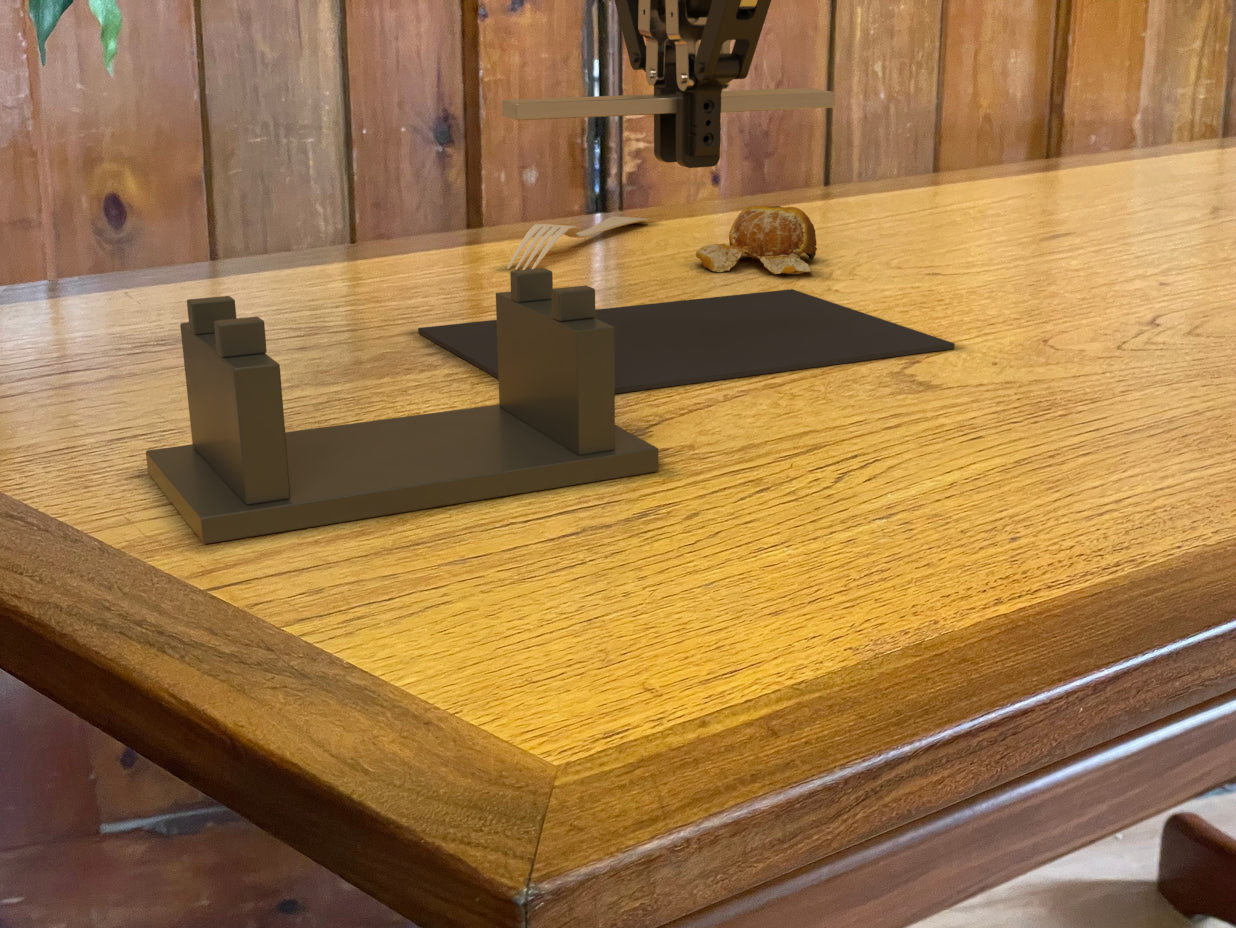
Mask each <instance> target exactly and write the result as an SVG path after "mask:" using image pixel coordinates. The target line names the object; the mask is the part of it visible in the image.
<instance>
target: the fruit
mask: <svg viewBox="0 0 1236 928" xmlns="http://www.w3.org/2000/svg"><path fill="white" fill-rule="evenodd" d="M728 240H729V243H712V244H711V243H710V244H706V245H703V246H701V247H700V248H699V249H698V250H697V251H696V252H695V256H696V258H697V259H699V261H701V264H702V266H703V267H704V268H707V269H708V270H709V271H712V272H717V273H723V272H726V271H728V272H730V269H732V268H733V267H734V266H735V265H736V264H737V263H739V259H740V258H741V255H746V256H747V258H750V257H751V258H752V259H758V260H760V263H762V264H763V267H764V268H766V269H767V270H768V271H769V272H770V273H772V274H773V275H777V274H778V275H779V274H781V273H783V274H787V275H801V274H803V273H808V272H811V273H813V272H814V269H813V268H812V267H810V265H809V264H808V263H807V262H805V260H802V259H801V256H802V255H803V254H805V255H806V256H807V257H808V260H813V259H814V258H815V256H816V254H817V253H816V252H817V250H818V247H817V237H816V229H815V226H814V223H813V222H812V221H811V219H810V217H809V216H808V215H807V214H806V212H805V211H803V210H802V209H801V208H798V207H795V206H780V205H753V206H748V207H746V208H744V209H742V211H740V213H738V215H737V217H736V218H735V220H734V221H733V223H732V226H731V227H730V230H729V234H728Z"/></svg>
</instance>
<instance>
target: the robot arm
mask: <svg viewBox="0 0 1236 928" xmlns="http://www.w3.org/2000/svg"><path fill="white" fill-rule="evenodd" d="M771 2H772V0H614V4H615V8H616V11H617V12H616V13H617V16H618V21H619V24H620V28H621V32H622V36H623V40H624V44H625V48H626V52H627V55H628V59H629V64H630V66H631V69H632V70H634V71H643V72H644V73H645V79H646V82H647V84H648V85H649V86H651V87H653V94H676V98H677V109H676V114H654V115H653V155H654V157H655V158H656V160H657V161H660V162H664V163H668V164H669V163H677V164H678V165H679V166H681V167H684V168H688V169H697V168H711V167H715V166H717V165H718V163H719V162H720V160H721V123H722V122H721V121H722V118H721V117H722V114H721V93H722V91H723V90H727V89H728V88H729V86H730V85H731V84H730V83H731V82H732V81H733V80H745V79H746V78H747V77H748V75H749V72H750V69H751V66H752V62H753V59H754V56H755V53H756V50H757V48H758V47H757V46H758V43H759V40H760V37H761V34H762V31H763V27H764V24H765V22H766V19H767V16H768V12H769V10H770V6H771ZM645 41H646V42H645ZM732 41H734V43H733V47H732V50H731V43H732Z"/></svg>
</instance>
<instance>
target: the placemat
mask: <svg viewBox="0 0 1236 928" xmlns="http://www.w3.org/2000/svg"><path fill="white" fill-rule="evenodd" d="M595 319H597V320H599V321H602V322H604V323H606V324H608V325H611V326H613V327H614V375H615V395H616V394H622V393H623V394H624V393H630V392H631V393H632V392H638V391H644V390H645V391H647V390H653V389H661V388H669V387H675V386H683V385H691V384H699V383H706V382H713V381H714V382H715V381H721V380H722V381H723V380H729V379H736V378H743V377H744V378H745V377H751V376H752V377H753V376H758V375H767V374H774V373H781V372H789V371H797V370H805V369H812V368H820V367H825V366H826V367H828V366H835V365H840V364H841V365H842V364H849V363H858V362H864V361H872V360H873V361H874V360H880V359H887V358H894V357H902V356H910V355H916V354H917V355H918V354H925V353H932V352H941V351H947V350H955V347H956V346H955V342H951V341H949V340H945V339H942V338H939V337H937V336H933V335H930V334H927V333H925V332H922V331H918V330H916V329H913V328H911V327H910V328H909V327H908V326H904V325H901V324H898V323H894V322H892V321H888V320H885V319H882V318H879V317H877V316H874V315H871V314H868V313H865V312H861V311H859V310H855V309H853V308H849V307H847V306H844V305H840V304H837V303H835V302H832V301H829V300H826V299H823V298H820V297H817V296H814V295H812V294H811V295H810V294H807V293H805V292H802V291H800V290H799V291H798V290H795V289H793V288H789V289H781V290H780V289H779V290H770V291H761V292H754V293H753V292H752V293H751V292H750V293H742V294H741V293H740V294H734V295H733V294H732V295H722V296H713V297H704V298H703V297H702V298H693V299H683V300H674V301H665V302H655V303H646V304H645V303H644V304H637V305H636V304H634V305H626V306H617V307H607V308H597V309H596V308H595ZM417 333H418V334H419V335H421V336H423V337H425V338H426V339H428V340H430V341H431V342H433V343H435V344H437V345H438V346H440V347H442V348H444V349H445V350H447V351H449V352H450V353H452V354H454V355H455V356H457V357H459V358H461V359H463V360H464V361H466V362H468V363H469V364H471V365H473V366H474V367H476V368H478V369H480V370H481V371H484V373H487V374H489V375H491V376H492V377H493V378H496V379H497V380H499V377H498V347H497V319H490V320H482V321H480V320H479V321H473V322H463V323H461V322H460V323H452V324H444V325H443V324H442V325H434V326H433V325H432V326H423V327H418V328H417Z"/></svg>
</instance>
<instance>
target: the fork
mask: <svg viewBox="0 0 1236 928" xmlns="http://www.w3.org/2000/svg"><path fill="white" fill-rule="evenodd" d="M649 221H650V219H649V218H646V217H645V218H644V217H632V216H616V215H612V216H610V217H607V218H606V219H604V220H602V221H600V222H599V223H597V224H595V225H593V226H591V227H589V228H587V229H585V230H583V231H582V228H581V227H579V226H576V225H564V224H550V223H535V224H534V225H532V226H531V227H530V229H529V230H528V231H527V232H526V234H525V235H524V237H523V238H522V240H521V241H520V243H519V245H518V247H517V248H516V250H515V252H514V254H513V256H512V258H511V260H510V262H509V263H508V266H507V267H506V269H507V270H510V269H511V267H512V265H513V264H514V262H515V261H516V259H517V258H518V257H519V255H520V254H521V252H522V251H523V249H524V248H525V247H526V246H527V245H528V243H529V242H530V243H529V245H528V246H527V247H526V249H525V251H524V252H523V254H522V256H521V257H520V260H519V261H518V263H517V265H516V266H515V269H514V270H515V271H517V270H518V269H519V268H520V266H521V265H522V264H523V262H524V261H525V259H526V258H527V256H528V255H529V253H530V252H531V251H532V250H533V251H532V253H531V254H530V256H529V258H528V259H527V260H526V263H525V264H524V266H523V267H522V270H527V268H528V266H529V265H530V263H531V262H532V261H533V259H534V258H535V256H536V255H537V254H538V253H539V251H540V250H541V249H542V248H543V249H542V250H541V252H540V253H539V256H537V259H536V260H535V262H534V263H533V264H532V267H531V268H530V269H536V267H537V266H538V265H539V264H540V262H541V261H542V260H543V258H544V257H545V256H546V255H547V253H548V252H549V251H550V250H551V249H552V247H553V246H554V245H555V244H556V243H557V242H558V240H559V239H560V238H561V237H563V235H565V236H566V237H569V238H579V239H581V238H583V239H584V238H587V237H591V236H594V235H598V234H600V233H603V232H606V231H609V230H612V229H616V228H620V227H624V226H627V225H632V224H637V223H641V224H643V223H649ZM531 239H532V240H531ZM530 240H531V241H530ZM539 240H540V241H539ZM547 241H548V242H547ZM536 244H537V245H536ZM545 244H546V245H545ZM544 245H545V246H544ZM543 246H544V247H543ZM534 247H535V248H534Z"/></svg>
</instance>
